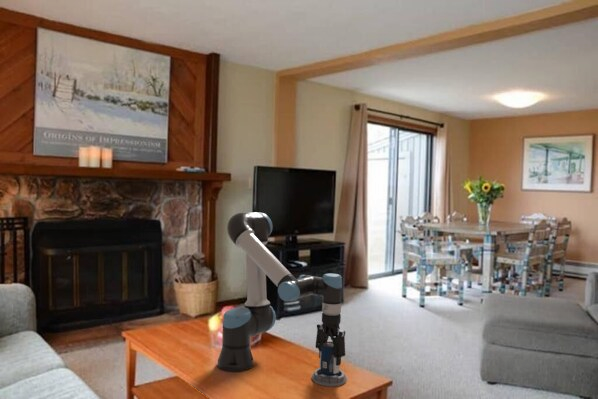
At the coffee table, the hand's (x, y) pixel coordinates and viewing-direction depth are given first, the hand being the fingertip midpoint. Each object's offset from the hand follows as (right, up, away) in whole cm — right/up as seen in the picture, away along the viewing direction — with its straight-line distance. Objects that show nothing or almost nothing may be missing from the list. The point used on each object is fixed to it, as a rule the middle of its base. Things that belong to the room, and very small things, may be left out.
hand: (329, 369), depth 192 cm
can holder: (0, -4, 0) cm, 4 cm away
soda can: (0, -2, 0) cm, 2 cm away
